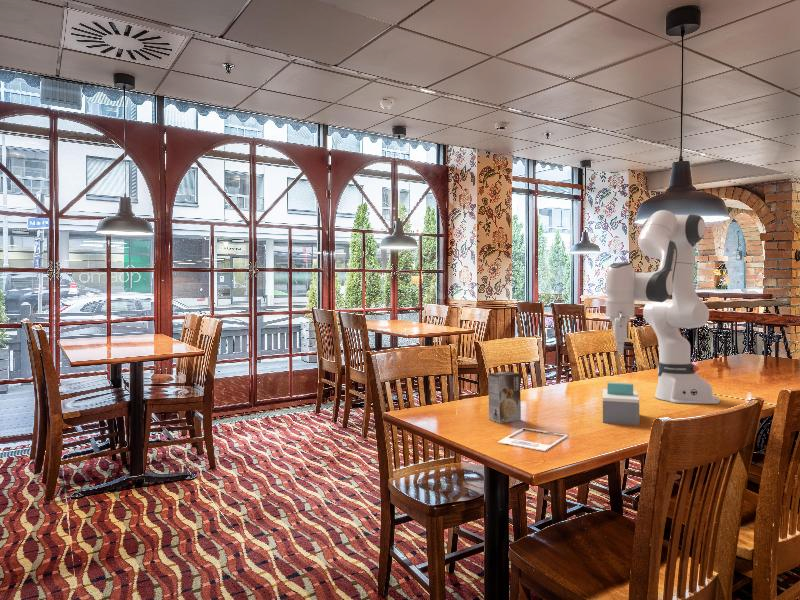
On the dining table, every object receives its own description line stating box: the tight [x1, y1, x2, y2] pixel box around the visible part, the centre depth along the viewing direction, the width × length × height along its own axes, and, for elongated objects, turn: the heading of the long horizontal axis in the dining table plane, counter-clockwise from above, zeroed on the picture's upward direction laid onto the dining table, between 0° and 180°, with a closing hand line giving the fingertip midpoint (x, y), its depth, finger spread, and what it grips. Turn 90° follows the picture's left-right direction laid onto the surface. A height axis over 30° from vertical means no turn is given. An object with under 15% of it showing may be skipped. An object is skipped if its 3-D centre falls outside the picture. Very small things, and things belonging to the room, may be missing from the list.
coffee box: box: [487, 371, 522, 424], centre depth 190 cm, size 9×6×16 cm
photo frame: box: [497, 427, 569, 452], centre depth 166 cm, size 15×1×18 cm
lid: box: [602, 382, 640, 404], centre depth 186 cm, size 11×15×6 cm
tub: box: [602, 400, 640, 426], centre depth 187 cm, size 11×15×8 cm
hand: (620, 352), depth 186 cm, fingers open, 8 cm apart
